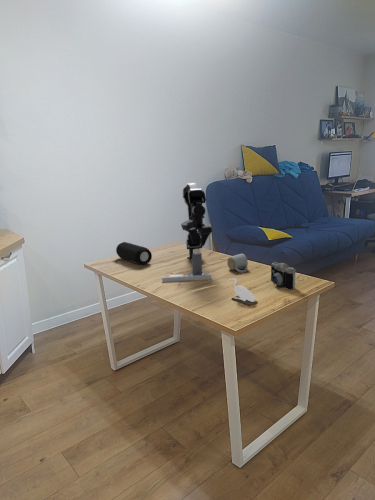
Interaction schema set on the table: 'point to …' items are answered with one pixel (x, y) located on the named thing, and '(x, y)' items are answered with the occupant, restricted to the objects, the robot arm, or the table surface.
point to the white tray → (186, 277)
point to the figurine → (243, 295)
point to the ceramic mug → (238, 263)
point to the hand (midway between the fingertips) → (198, 244)
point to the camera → (283, 275)
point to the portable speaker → (134, 253)
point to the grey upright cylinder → (197, 262)
